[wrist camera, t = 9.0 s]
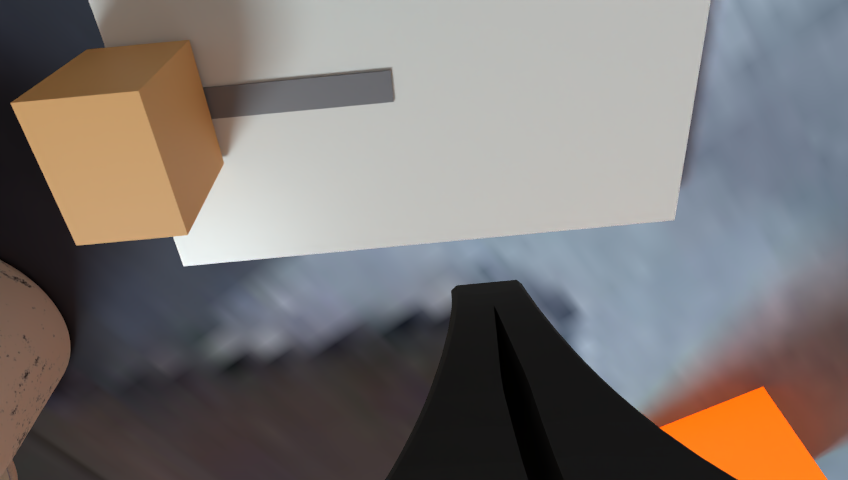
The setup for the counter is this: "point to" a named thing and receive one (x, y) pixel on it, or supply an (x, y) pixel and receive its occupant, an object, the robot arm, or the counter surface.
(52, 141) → the block
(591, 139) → the panel
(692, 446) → the orange juice
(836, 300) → the counter surface
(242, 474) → the counter surface
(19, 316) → the teacup with lid
